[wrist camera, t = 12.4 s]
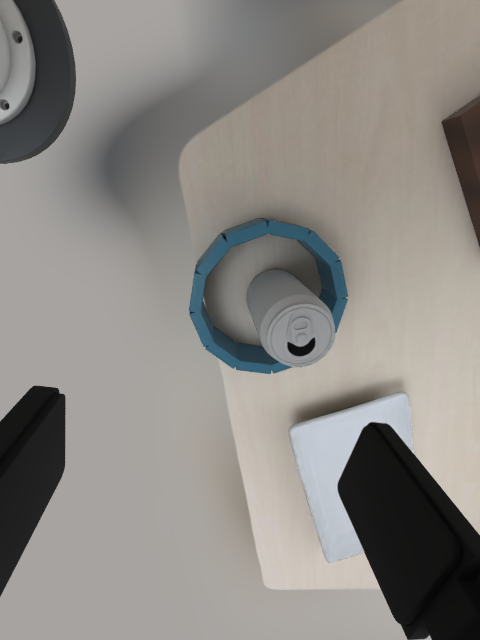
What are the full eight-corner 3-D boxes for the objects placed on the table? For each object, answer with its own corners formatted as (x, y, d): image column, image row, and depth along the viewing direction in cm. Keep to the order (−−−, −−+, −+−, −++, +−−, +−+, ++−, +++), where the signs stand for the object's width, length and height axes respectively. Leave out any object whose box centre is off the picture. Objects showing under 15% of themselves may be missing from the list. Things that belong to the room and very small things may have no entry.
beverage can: (249, 323, 36) (267, 378, 25) (242, 272, 34) (258, 307, 22) (300, 314, 36) (340, 365, 25) (297, 263, 34) (340, 293, 23)
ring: (160, 275, 33) (153, 286, 29) (287, 184, 31) (300, 182, 26) (242, 377, 39) (247, 398, 35) (354, 307, 37) (372, 321, 32)
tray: (396, 377, 41) (412, 392, 38) (409, 517, 53) (422, 537, 50) (280, 412, 42) (286, 429, 38) (319, 543, 54) (326, 565, 50)
